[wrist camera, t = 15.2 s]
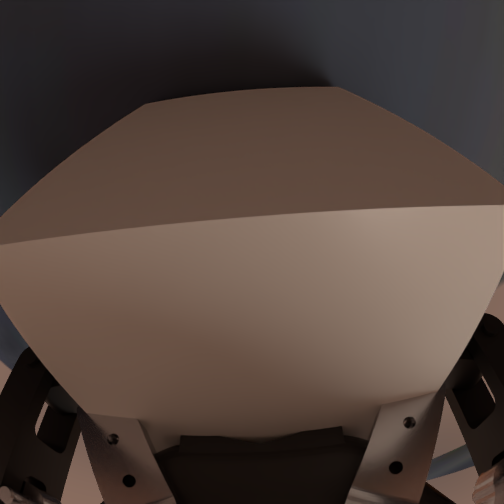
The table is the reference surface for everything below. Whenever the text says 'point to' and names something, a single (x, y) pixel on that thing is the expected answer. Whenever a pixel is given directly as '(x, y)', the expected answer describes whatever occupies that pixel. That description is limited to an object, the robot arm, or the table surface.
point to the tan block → (253, 264)
